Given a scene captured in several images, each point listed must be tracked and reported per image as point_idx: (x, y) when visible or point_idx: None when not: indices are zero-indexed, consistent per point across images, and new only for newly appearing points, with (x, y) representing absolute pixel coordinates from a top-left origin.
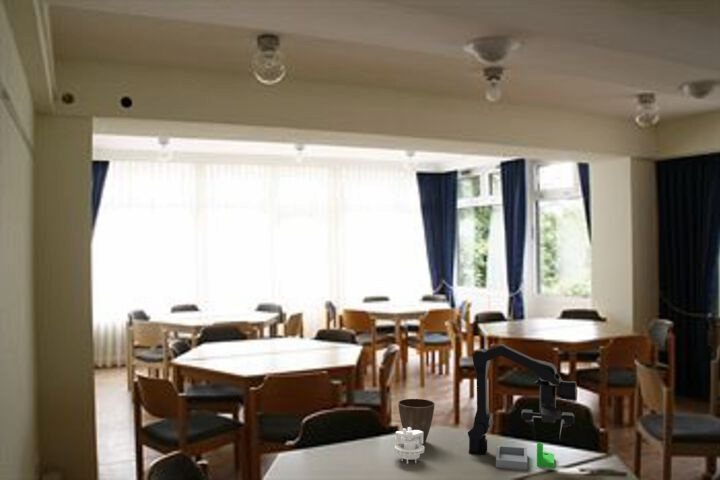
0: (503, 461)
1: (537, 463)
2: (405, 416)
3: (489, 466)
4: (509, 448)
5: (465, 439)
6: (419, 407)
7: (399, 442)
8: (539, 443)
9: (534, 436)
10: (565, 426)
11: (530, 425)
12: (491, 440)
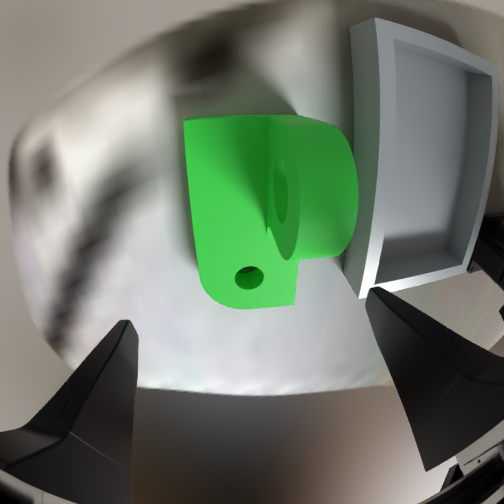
0: (473, 55)
1: (298, 116)
2: None
3: None
4: (428, 267)
5: (472, 325)
6: None
7: None
8: (335, 203)
9: (387, 298)
10: (9, 438)
11: (492, 359)
12: None
